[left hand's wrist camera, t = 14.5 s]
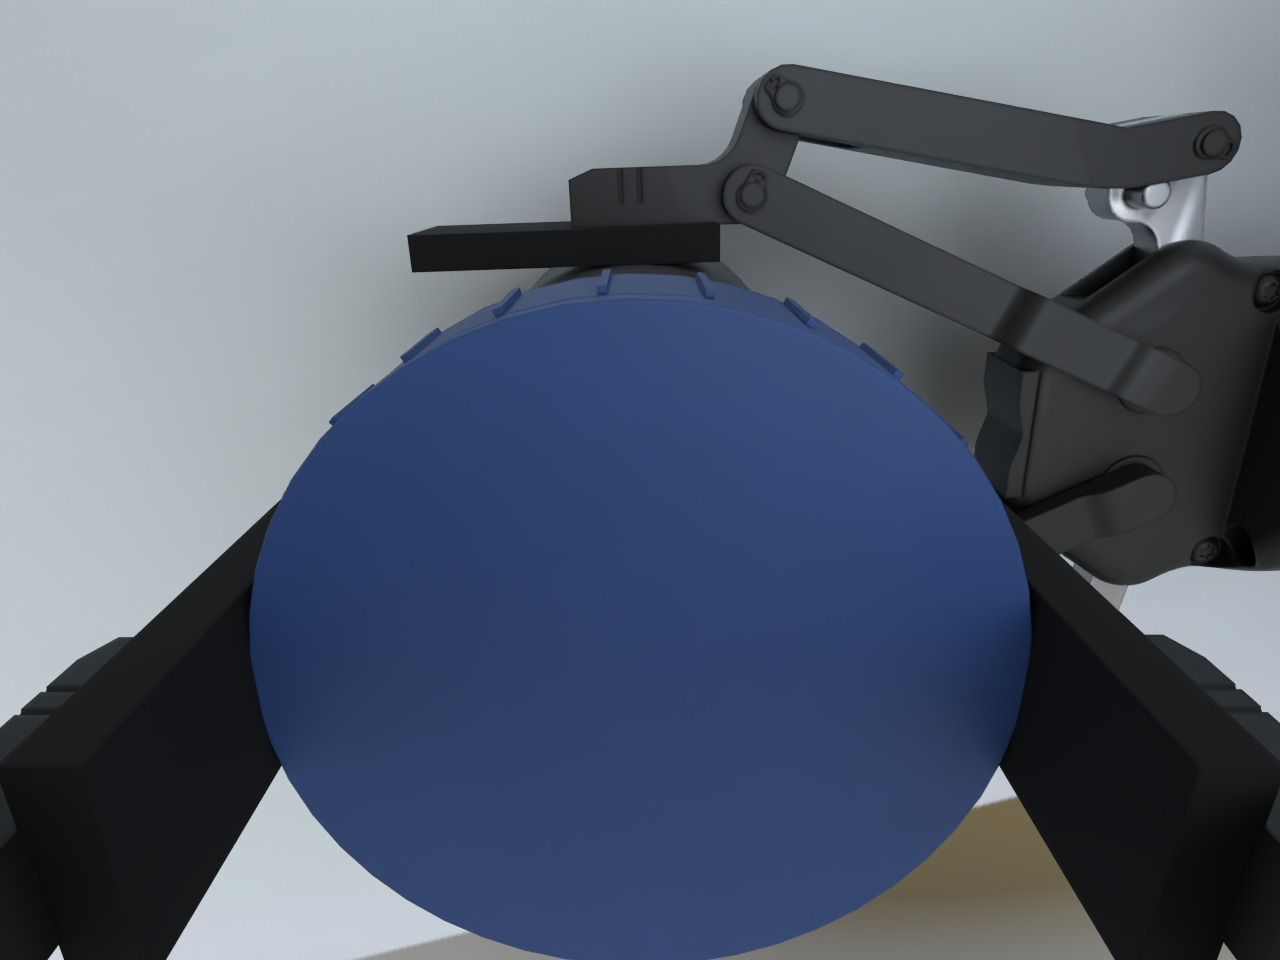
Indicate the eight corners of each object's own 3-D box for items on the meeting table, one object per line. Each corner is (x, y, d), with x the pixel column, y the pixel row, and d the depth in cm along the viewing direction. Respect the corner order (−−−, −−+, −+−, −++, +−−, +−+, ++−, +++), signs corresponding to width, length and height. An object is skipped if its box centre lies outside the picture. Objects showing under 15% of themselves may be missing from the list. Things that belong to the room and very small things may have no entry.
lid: (1094, 642, 12) (1180, 732, 10) (601, 940, 15) (596, 1060, 13) (698, 93, 10) (712, 76, 8) (168, 567, 12) (73, 646, 10)
